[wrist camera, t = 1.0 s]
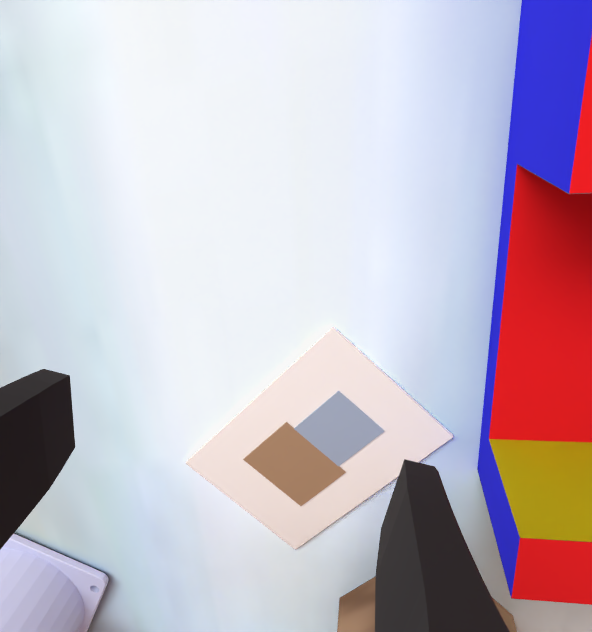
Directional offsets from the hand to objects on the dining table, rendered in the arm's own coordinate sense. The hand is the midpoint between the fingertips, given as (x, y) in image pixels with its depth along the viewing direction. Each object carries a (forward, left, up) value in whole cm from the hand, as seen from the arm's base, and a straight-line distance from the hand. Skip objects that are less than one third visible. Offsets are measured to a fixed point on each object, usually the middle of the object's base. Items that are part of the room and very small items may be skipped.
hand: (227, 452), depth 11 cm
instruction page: (-7, -4, -11) cm, 13 cm away
